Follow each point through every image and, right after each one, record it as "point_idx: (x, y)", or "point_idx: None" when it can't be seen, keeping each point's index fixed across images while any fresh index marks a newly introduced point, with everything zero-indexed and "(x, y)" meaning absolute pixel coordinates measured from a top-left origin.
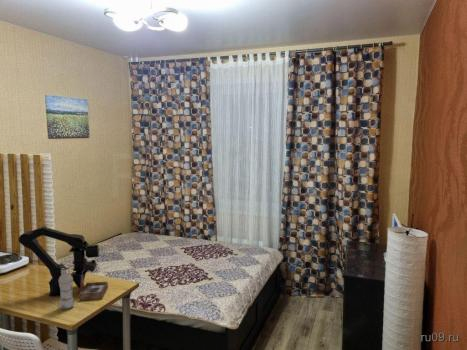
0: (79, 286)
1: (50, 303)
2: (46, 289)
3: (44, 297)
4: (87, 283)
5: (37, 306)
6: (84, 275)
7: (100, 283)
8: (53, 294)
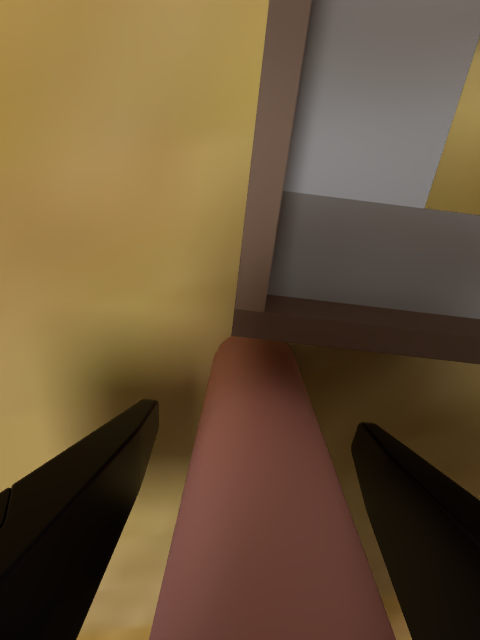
0: (401, 456)
1: None
2: (140, 635)
3: None
4: (283, 319)
5: None
6: (5, 585)
7: None
8: None
